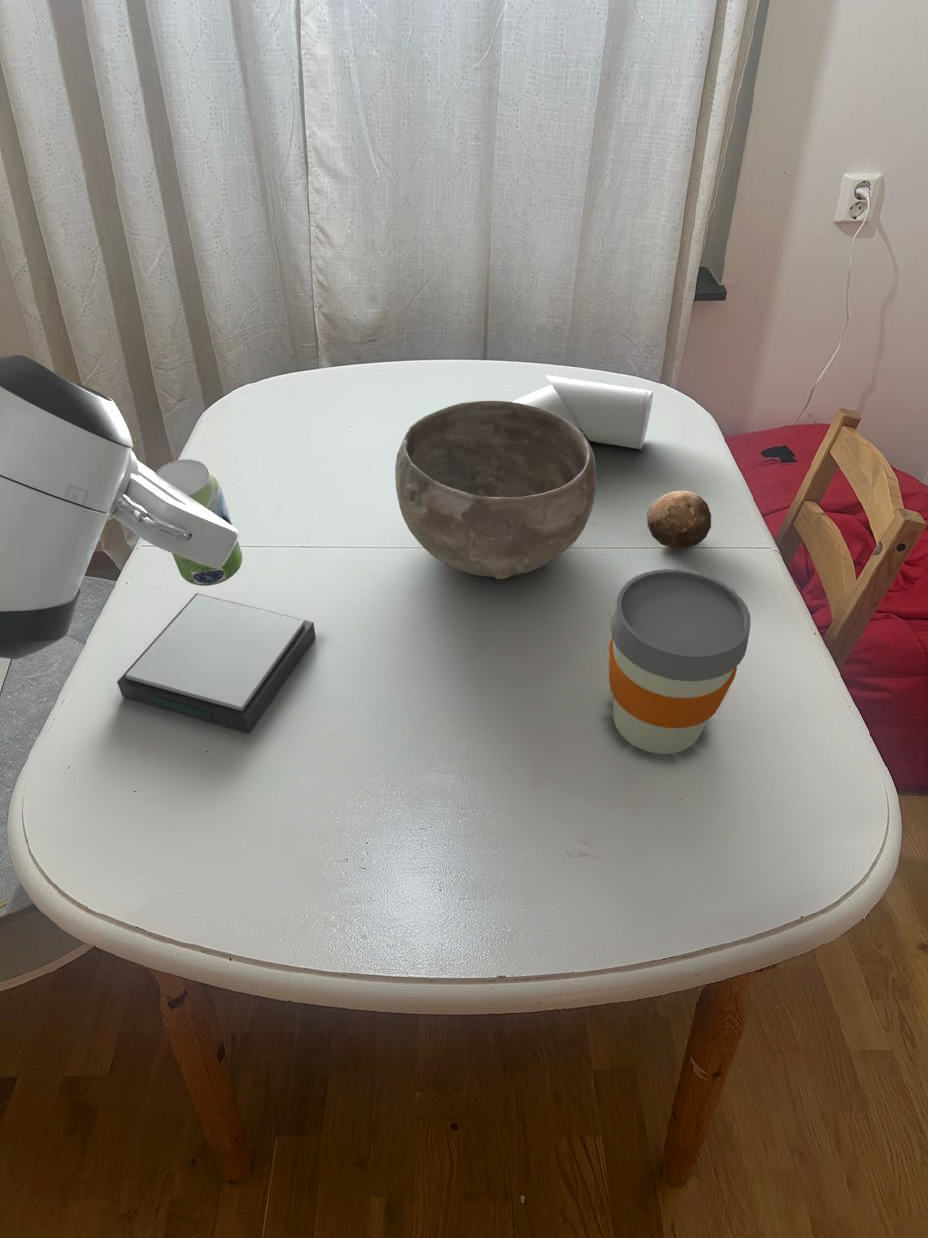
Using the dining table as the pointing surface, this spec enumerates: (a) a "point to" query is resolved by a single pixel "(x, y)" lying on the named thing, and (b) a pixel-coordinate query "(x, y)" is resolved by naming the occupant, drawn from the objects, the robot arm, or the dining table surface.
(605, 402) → the elbow connector
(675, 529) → the brown potato
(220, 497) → the beverage can
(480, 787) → the dining table surface
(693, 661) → the reusable coffee cup
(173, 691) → the kitchen scale
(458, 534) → the bowl
